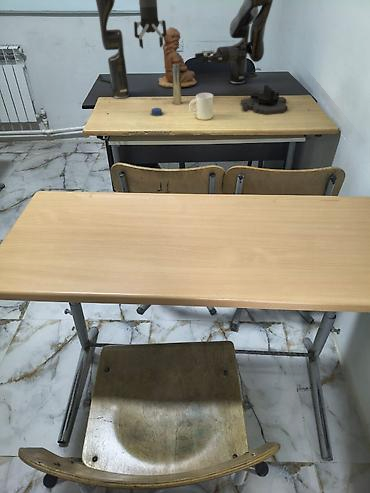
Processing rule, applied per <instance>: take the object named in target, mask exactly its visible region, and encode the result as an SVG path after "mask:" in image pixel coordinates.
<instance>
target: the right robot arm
mask: <svg viewBox="0 0 370 493" xmlns="http://www.w3.org/2000/svg"><path fill="white" fill-rule="evenodd" d="M273 1H274V0H244V1H243V2H242V5H241V6H240V8H239V9H238V11H237V14H236V16H235V17H234V18H233V19H232V20H231V22H230V25H229V31H228V32H229V35H230V37H231V39H240V40H239V42H237V43H234V44H232V45H225V46H219V47H217V49H216V51H215V50H203V51H201V52H198V53H195V54H194V58H195V59H200V62H201V63H204V62H205V63H206V62H208V63H218V64H226V63H230V70H229V71H230V72H229V83H230V84H232V85H242V84H245V83H246V82H247V78H255V77H257V76H258V74H257V73H255V71H260V72H261V71H262V69H261V68H258V67H257V68H254V69H253V70H252V71H251V75H250V76H249V75H248V70H247V68H248V65H247V61H248V60H247V59H248V56H249V57H250V58H249V59H251V60H252V62H255V63H258V62H259V61H261V60H262V59H263V57H264V54H265V43H264V42H265V41H264V38H265V32H266V26H267V21H268V18H269V14H270V13H271V12H270V11H271V8H272V6H273V3H274V2H273ZM259 7H260V9H259Z"/></svg>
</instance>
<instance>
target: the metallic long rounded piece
mask: <svg viewBox="0 0 370 493" xmlns="http://www.w3.org/2000/svg"><path fill="white" fill-rule="evenodd" d="M172 67H173V68H172V80H173V87H172V97H173V98H172V99H173V104H174V105H181V104H182V87H181V73H180V64H173V66H172Z"/></svg>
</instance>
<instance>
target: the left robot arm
mask: <svg viewBox="0 0 370 493" xmlns="http://www.w3.org/2000/svg"><path fill="white" fill-rule="evenodd" d="M115 1H116V0H95V3H96V8H97V13H98V14H97V15H98V20H99V27H100V36H101V41H102V42H101V43H102V46H103V49H104V50H106V51H116V50H117V52H116V53H115V54H113V55H111V56H109V57H108V58H107V64H108V70H109V75H110V80H108V79H103V78H102V75H98V80H100V81H102V82H107V83H110V84H111V89H112V97H113V98H114V99H125V98H128V97H130V90H129V89H130V88H129V82H128V81H129V79H128V74H127V66H126V65H127V64H126V57H125V49H124V36H123V32H122V30H121V29H118V28H117V29H107V27H108V22H109V18H110V17H111V16H110V15H111V13H112V12H113V8H114V7H115ZM138 5H139V14H140V16H139V17H140V21H134V22H133V30H134V31H133V32H134V38H136V39H138V43H139V47H140V48H141V49H144V41H143V40H144V39H143V37H144V35H145V34H149V33H155V32H156V33H157V35H158V36H159V37H158V40H159V41H158V42H159V48H163V45H164V36H166V35H167V33H166V30H167V23H166V20H165V19H162V20H159V13H158V0H138ZM159 25H160V26H161V27H162V33H161V31H160V30H159V29H158V27H159ZM140 27H141V28H142V29H141V31H140V33H139V34H138V29H139V28H140Z"/></svg>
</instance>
